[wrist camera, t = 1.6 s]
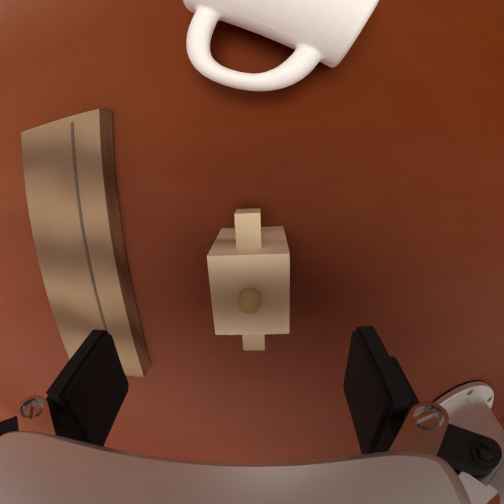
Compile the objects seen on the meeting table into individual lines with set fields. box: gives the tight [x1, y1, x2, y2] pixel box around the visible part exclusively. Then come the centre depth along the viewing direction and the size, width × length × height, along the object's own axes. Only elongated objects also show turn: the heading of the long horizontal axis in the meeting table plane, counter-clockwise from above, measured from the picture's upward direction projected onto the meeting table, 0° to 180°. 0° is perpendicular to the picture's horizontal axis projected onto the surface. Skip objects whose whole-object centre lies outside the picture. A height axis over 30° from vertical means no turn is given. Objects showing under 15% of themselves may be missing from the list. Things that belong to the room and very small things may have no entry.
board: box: [21, 109, 151, 377], centre depth 22 cm, size 22×8×2 cm, turn 3°
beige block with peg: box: [207, 208, 290, 350], centre depth 20 cm, size 9×4×7 cm, turn 3°
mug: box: [183, 0, 379, 91], centre depth 14 cm, size 12×10×8 cm
